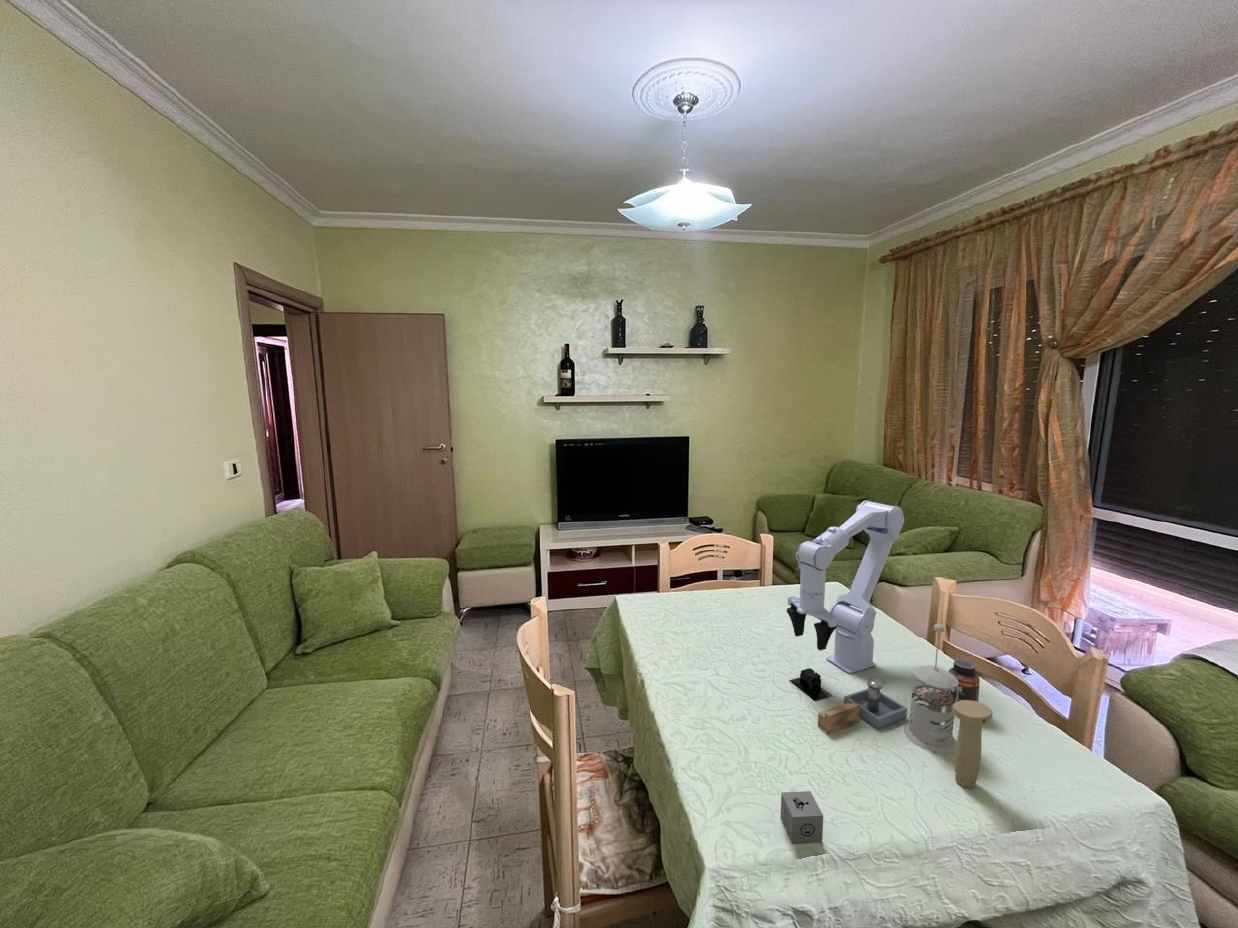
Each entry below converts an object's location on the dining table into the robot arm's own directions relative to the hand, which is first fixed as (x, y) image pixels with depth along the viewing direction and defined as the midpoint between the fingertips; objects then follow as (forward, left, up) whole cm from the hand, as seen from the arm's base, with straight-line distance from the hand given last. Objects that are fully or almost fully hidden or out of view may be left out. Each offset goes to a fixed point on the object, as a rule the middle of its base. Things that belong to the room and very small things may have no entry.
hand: (810, 642), depth 125 cm
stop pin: (-3, +16, -9) cm, 19 cm away
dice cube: (+34, +33, -10) cm, 48 cm away
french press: (-8, +27, -10) cm, 30 cm away
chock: (+7, +16, -10) cm, 20 cm away
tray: (-4, +17, -10) cm, 20 cm away
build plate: (+2, +3, -11) cm, 11 cm away
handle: (-1, +38, -10) cm, 39 cm away
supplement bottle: (-22, +24, -10) cm, 34 cm away
